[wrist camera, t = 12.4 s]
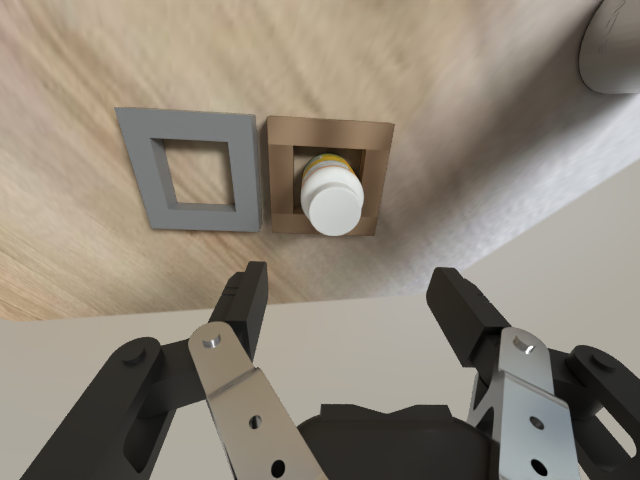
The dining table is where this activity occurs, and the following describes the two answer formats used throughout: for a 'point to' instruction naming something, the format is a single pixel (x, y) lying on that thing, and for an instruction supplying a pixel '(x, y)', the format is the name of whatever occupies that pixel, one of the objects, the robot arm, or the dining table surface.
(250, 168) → the socket
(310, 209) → the supplement bottle
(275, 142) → the socket
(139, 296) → the dining table surface
